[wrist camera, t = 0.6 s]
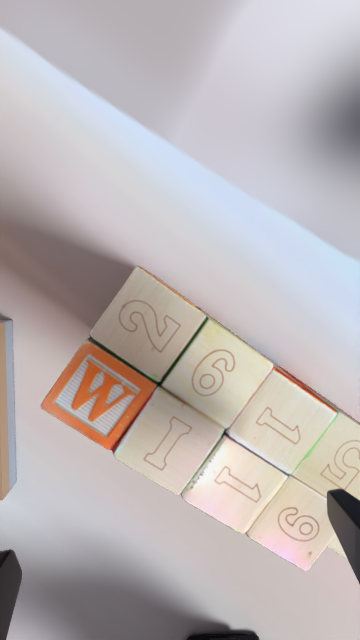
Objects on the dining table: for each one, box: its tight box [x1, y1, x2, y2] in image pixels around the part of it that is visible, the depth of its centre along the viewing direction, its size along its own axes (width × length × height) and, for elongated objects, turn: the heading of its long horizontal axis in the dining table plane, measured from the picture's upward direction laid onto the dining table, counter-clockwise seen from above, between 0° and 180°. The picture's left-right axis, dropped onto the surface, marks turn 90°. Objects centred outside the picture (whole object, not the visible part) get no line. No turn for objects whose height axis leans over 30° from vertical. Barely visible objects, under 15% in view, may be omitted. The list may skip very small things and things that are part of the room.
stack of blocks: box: [41, 266, 360, 571], centre depth 17 cm, size 21×6×12 cm, turn 55°
